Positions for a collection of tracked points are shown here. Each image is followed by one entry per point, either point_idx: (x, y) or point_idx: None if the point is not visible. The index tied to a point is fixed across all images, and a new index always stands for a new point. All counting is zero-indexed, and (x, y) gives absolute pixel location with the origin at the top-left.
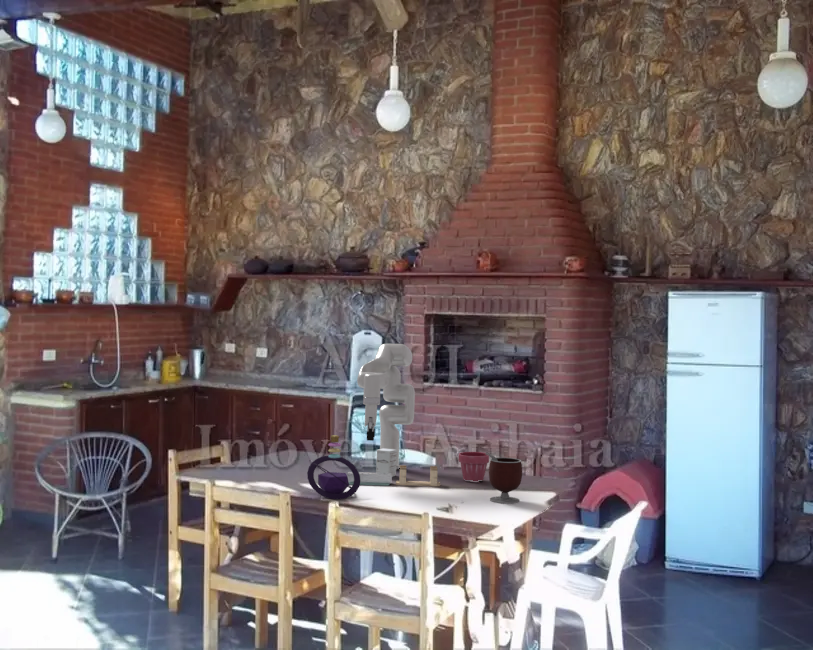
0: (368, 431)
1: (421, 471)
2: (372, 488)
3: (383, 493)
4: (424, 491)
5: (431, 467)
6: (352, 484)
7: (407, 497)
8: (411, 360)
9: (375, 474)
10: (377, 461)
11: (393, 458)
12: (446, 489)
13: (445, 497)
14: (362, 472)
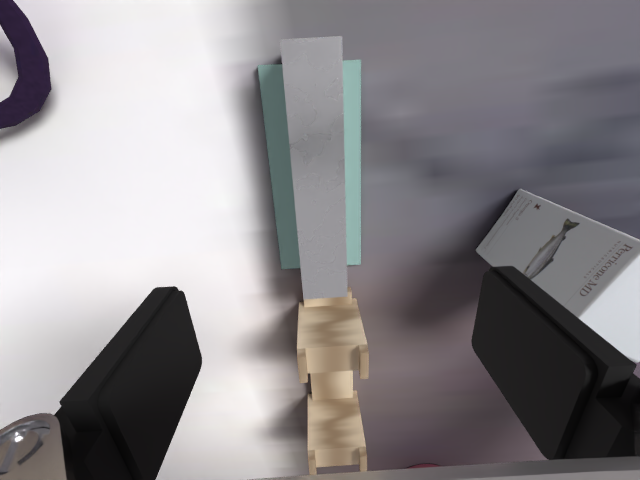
0: (35, 437)
1: None
2: (192, 203)
3: (97, 259)
4: (204, 383)
5: (359, 454)
6: (260, 88)
7: (65, 344)
8: None
9: (296, 222)
10: (569, 220)
11: None
12: (263, 433)
13: None
14: (336, 143)
